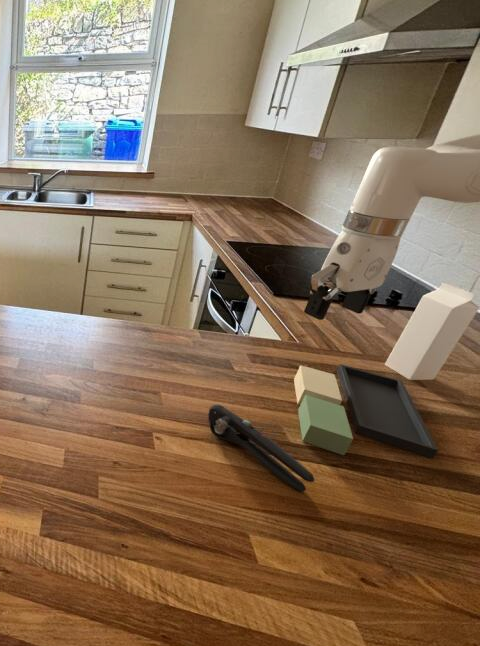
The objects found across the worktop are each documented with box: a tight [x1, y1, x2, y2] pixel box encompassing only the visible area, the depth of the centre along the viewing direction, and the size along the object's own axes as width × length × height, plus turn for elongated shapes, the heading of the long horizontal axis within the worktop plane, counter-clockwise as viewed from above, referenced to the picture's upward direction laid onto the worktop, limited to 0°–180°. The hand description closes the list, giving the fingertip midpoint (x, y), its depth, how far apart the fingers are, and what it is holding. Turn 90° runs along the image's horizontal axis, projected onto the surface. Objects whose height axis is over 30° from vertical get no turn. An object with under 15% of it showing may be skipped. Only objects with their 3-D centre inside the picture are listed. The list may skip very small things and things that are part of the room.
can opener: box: [207, 404, 315, 492], centre depth 70 cm, size 18×7×6 cm, turn 23°
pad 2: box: [297, 395, 354, 456], centre depth 76 cm, size 6×10×4 cm, turn 147°
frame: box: [336, 363, 439, 459], centre depth 83 cm, size 11×24×2 cm, turn 147°
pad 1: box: [293, 365, 343, 406], centre depth 85 cm, size 6×10×4 cm, turn 147°
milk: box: [384, 282, 480, 381], centre depth 90 cm, size 6×6×22 cm
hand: (332, 313), depth 75 cm, fingers open, 9 cm apart
